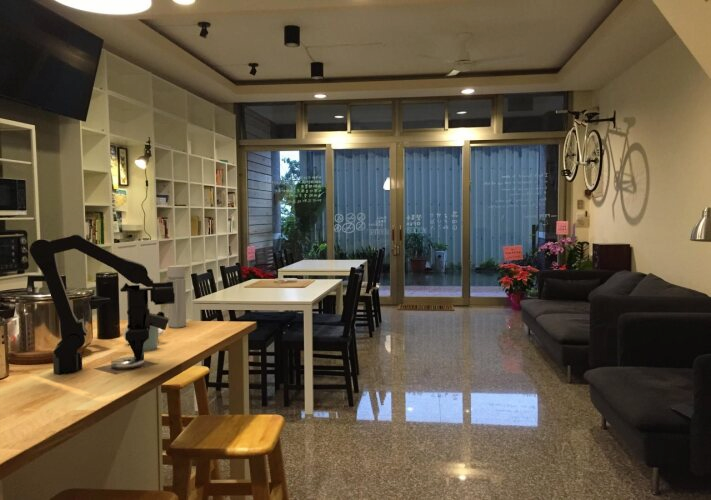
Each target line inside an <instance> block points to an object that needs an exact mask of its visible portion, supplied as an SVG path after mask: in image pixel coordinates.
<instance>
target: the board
mask: <svg viewBox="0 0 711 500" xmlns="http://www.w3.org/2000/svg"><path fill="white" fill-rule="evenodd" d="M156 365H159V363H158V362H152V361H149V360H145V359H144V364H143V365H141V366H139V367H134V368H127V369H117V368H112V367H111V364H106V365H103V366H98V367H94V368H93V370H97V371H101V372H105V373H109V374H111V375H120V374H123V373H127V372H132V371H135V370H136V371H137V370H140V369H144V368H149V367H151V366H152V367H153V366H156Z"/></svg>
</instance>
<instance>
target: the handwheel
mask: <svg viewBox="0 0 711 500" xmlns="http://www.w3.org/2000/svg"><path fill="white" fill-rule="evenodd" d="M144 360H145V351H144V348H143V350H142V356H141V360H137V359H136V357H135V355H134V354H133V356H125V357H119V358H115V359H112V360H111V361H110V365H111V367H112V368H117V369H127V368H134V367H139V366H141V365H143V364H144Z"/></svg>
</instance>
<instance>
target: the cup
mask: <svg viewBox="0 0 711 500" xmlns="http://www.w3.org/2000/svg"><path fill="white" fill-rule="evenodd" d="M147 329H148V328H147ZM149 332H150V333H149V339H147V340H146V341H145V342H144V345H143V348H144V352H149V351H155V350H156V349H157V348H158V345H159V336H158V328H157V327H154V326H151V325H150V330H149Z"/></svg>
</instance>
